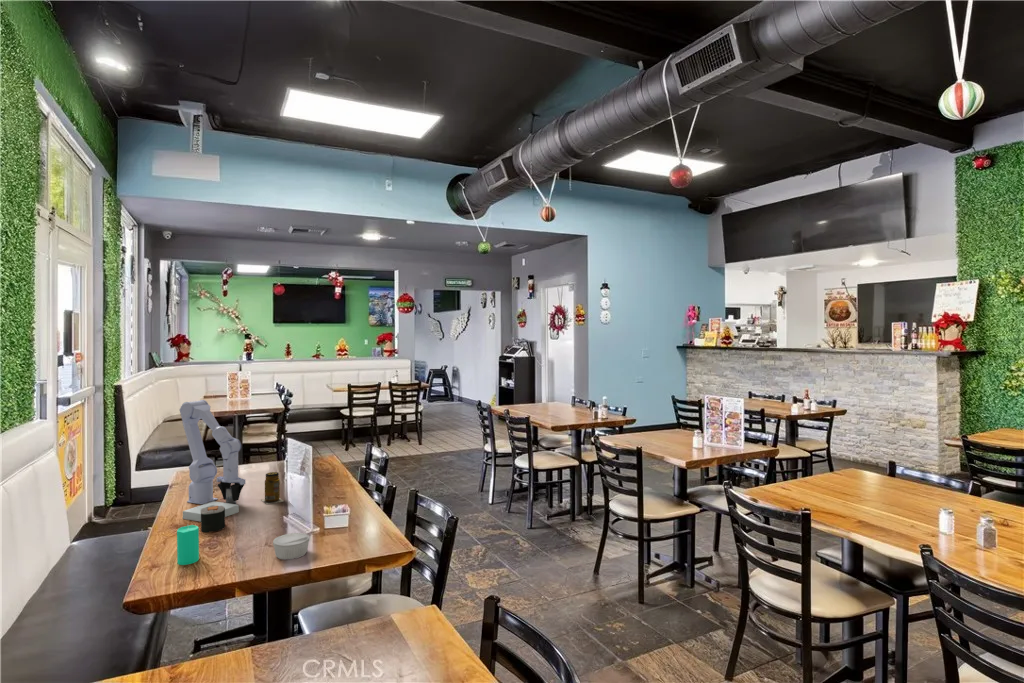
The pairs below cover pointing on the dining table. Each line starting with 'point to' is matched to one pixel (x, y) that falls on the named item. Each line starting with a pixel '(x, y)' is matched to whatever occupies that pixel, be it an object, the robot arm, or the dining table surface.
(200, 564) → the dining table surface
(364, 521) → the dining table surface
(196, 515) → the socket
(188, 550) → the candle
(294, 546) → the ramekin
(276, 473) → the condiment
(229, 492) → the peg
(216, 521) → the sushi
